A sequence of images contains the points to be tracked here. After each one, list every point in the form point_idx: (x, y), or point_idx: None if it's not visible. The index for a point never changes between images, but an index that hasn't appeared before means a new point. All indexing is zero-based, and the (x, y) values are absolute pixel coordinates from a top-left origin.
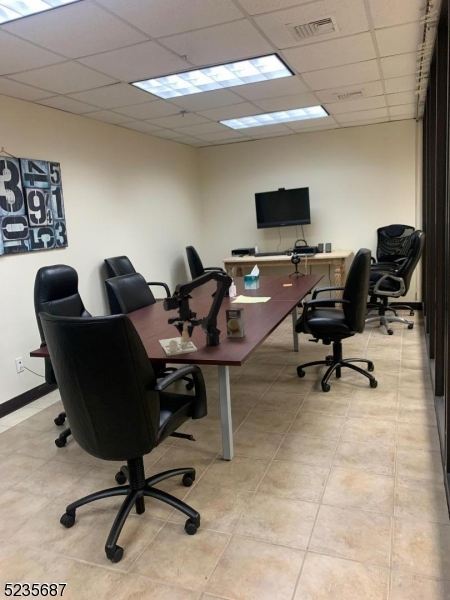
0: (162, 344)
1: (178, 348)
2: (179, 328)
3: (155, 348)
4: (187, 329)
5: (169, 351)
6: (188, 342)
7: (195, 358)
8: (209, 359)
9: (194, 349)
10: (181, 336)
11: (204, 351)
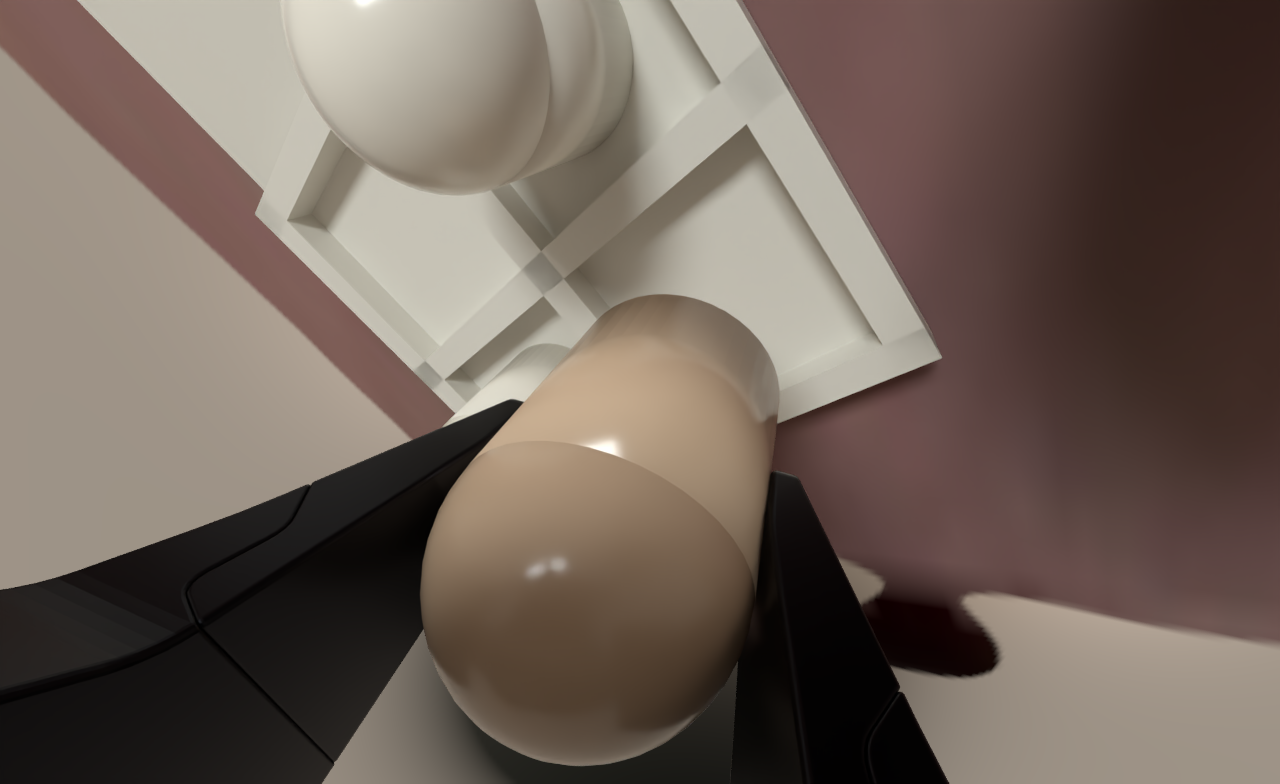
0: (136, 41)
1: (544, 295)
2: (325, 757)
3: (221, 211)
4: (618, 757)
5: (488, 368)
6: (595, 56)
7: (947, 564)
8: (1206, 624)
9: (876, 373)
10: (353, 152)
11: (1097, 277)
